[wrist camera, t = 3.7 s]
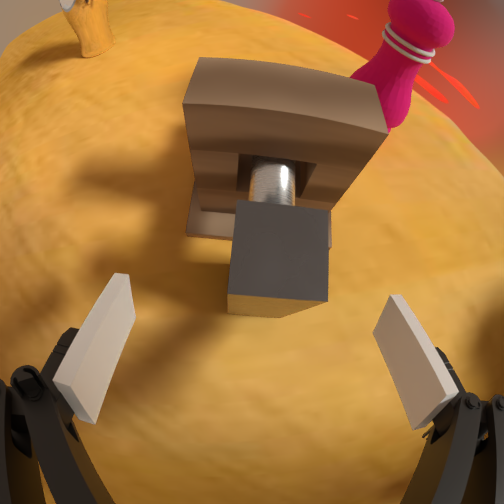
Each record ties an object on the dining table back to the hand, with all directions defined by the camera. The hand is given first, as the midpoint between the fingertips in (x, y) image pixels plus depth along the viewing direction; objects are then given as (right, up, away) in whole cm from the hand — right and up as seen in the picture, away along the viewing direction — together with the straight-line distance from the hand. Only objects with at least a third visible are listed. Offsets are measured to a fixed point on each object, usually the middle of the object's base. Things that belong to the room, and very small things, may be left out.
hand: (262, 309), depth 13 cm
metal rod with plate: (0, +6, +10) cm, 12 cm away
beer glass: (-25, +35, +18) cm, 47 cm away
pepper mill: (+12, +18, +16) cm, 26 cm away
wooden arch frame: (0, +7, +11) cm, 13 cm away
